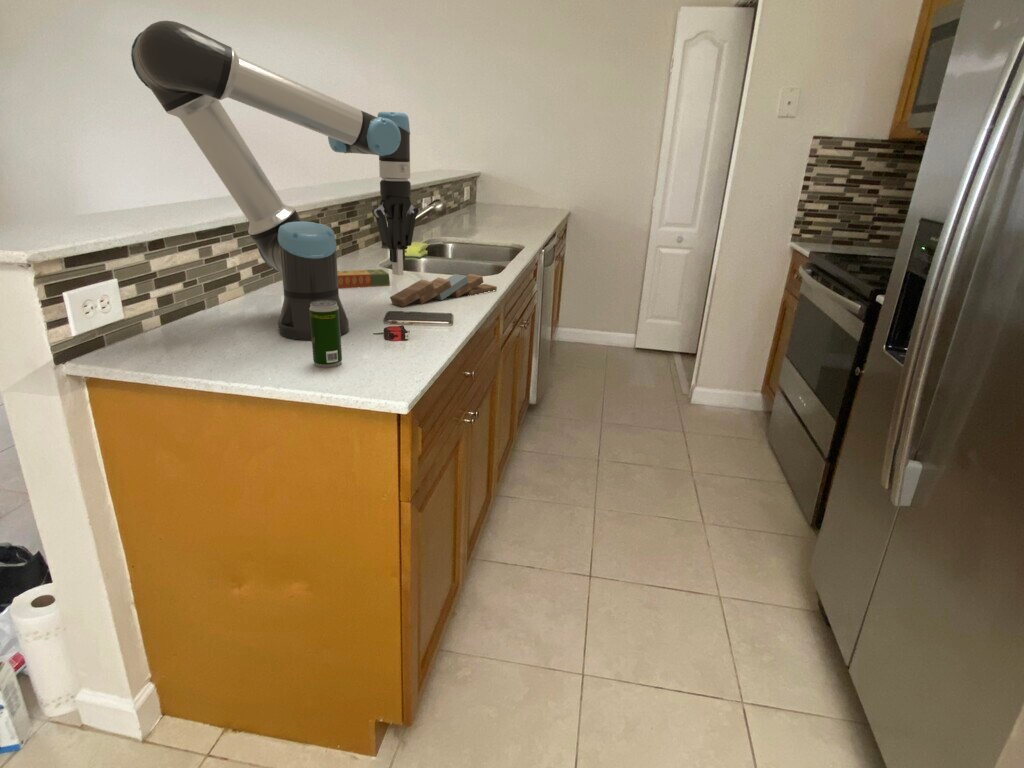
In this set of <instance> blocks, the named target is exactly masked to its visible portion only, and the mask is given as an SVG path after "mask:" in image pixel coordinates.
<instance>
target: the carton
mask: <svg viewBox="0 0 1024 768" xmlns="http://www.w3.org/2000/svg"><path fill="white" fill-rule="evenodd" d="M337 273H338V290H339V289H340V290H341V289H342V290H343V289H356V288H358V287H360V288H374V287H376V288H377V287H378V288H379V287H390V285H391V282H390V274H389V273H388V272H386V271H385V270H383V269H381V268H380V269H357V270H355V269H354V270H353V269H352V270H337ZM358 289H359V288H358Z"/></svg>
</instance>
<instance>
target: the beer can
mask: <svg viewBox="0 0 1024 768" xmlns="http://www.w3.org/2000/svg"><path fill="white" fill-rule="evenodd" d="M309 312H310V324H311V337H312V340H311V348H312V360H313V363H314V365H315V366H316V367H317V368H325V369H327V368H329V369H330V368H335V367H338V366H340V365H341V363H342V361H343V353H342V352H343V351H342V350H343V349H342V335H341V334H340V318H339V307H338V306H337V302H336V301H331V300H319V301H313V302H311V303H310V308H309Z"/></svg>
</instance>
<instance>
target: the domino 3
mask: <svg viewBox="0 0 1024 768" xmlns="http://www.w3.org/2000/svg"><path fill="white" fill-rule="evenodd" d="M446 280H450V283H451V287H450V288H449V289H447V290H445V291H444V292H442V293H440V294H439V295H437V296H435V297H433V298H432V299H435V300H439V301H443V300H444V299H447V298H448V297H450V296H449V295H450V294H452V293H453V292H455V291H456V290H458V289H460V288H461V287H463V286H464V285H466V284H467V283H469V282H468V279H467V275H462V274H458V273H454V274H453V275H450V276H449V277H448V278H446Z"/></svg>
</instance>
